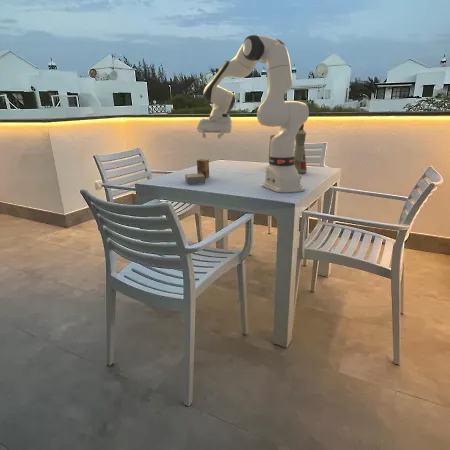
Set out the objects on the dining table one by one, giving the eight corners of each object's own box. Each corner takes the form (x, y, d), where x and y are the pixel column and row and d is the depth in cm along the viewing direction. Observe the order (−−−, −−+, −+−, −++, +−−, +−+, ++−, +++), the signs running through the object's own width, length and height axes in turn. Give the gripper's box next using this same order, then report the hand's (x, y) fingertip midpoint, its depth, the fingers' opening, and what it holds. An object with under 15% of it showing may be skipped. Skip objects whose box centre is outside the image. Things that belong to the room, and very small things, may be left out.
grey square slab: (205, 184, 171) (204, 176, 170) (187, 185, 169) (187, 177, 168) (201, 180, 179) (201, 173, 178) (185, 181, 177) (185, 174, 176)
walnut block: (209, 177, 186) (208, 159, 183) (206, 178, 182) (205, 160, 178) (201, 176, 188) (200, 159, 184) (197, 178, 183) (196, 160, 180)
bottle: (290, 171, 198) (292, 122, 189) (306, 171, 197) (309, 122, 187) (290, 174, 190) (293, 123, 181) (306, 174, 189) (310, 123, 179)
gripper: (198, 114, 194) (192, 133, 189) (232, 114, 188) (226, 134, 183) (202, 122, 200) (196, 140, 194) (234, 122, 193) (229, 141, 188)
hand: (211, 137), depth 188 cm, fingers open, 8 cm apart
